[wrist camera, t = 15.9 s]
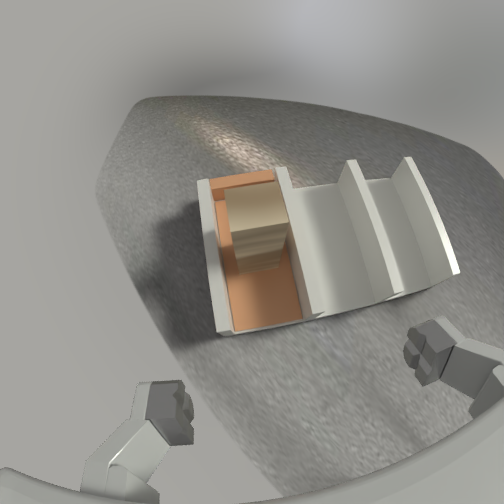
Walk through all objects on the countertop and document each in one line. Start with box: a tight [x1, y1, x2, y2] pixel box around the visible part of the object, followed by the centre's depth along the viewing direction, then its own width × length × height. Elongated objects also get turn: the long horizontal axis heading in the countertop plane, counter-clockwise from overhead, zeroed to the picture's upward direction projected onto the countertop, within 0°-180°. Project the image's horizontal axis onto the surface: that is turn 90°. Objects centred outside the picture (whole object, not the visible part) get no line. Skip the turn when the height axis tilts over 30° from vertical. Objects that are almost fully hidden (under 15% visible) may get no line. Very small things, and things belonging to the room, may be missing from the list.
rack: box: [197, 157, 460, 337], centre depth 25 cm, size 14×22×5 cm, turn 100°
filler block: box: [224, 181, 289, 275], centre depth 21 cm, size 3×4×9 cm
